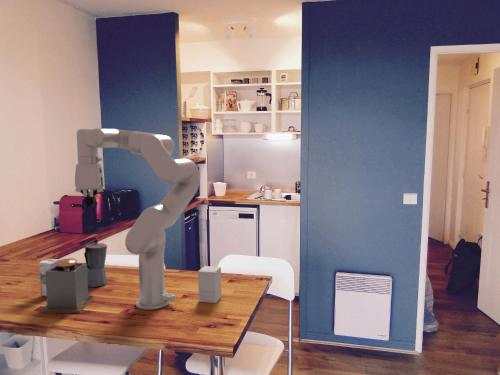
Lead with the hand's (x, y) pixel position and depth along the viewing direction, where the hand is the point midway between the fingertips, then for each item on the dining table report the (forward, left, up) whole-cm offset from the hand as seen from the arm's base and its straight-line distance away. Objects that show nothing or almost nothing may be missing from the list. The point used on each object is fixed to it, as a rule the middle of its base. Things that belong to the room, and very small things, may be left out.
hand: (90, 206), depth 168 cm
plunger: (+6, +10, -34) cm, 36 cm away
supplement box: (-48, +3, -37) cm, 61 cm away
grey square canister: (+6, +10, -37) cm, 39 cm away
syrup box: (+18, -1, -37) cm, 41 cm away
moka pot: (+4, -13, -37) cm, 40 cm away
